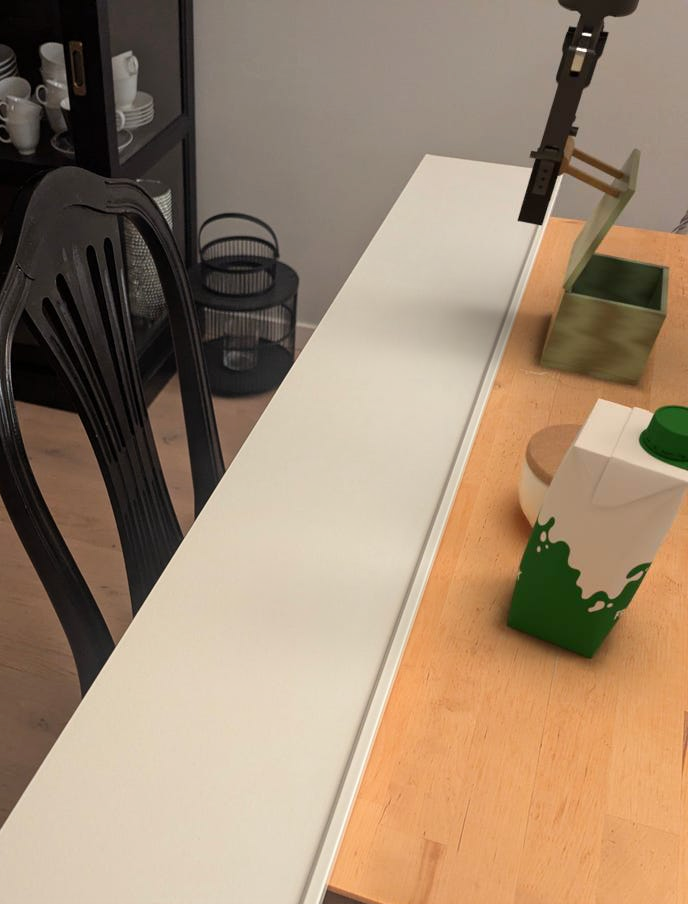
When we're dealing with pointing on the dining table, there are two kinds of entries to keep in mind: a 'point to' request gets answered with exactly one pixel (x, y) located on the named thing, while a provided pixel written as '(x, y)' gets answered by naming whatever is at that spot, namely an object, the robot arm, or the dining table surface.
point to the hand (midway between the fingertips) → (534, 209)
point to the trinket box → (543, 465)
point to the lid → (605, 210)
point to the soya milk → (601, 524)
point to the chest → (608, 319)
